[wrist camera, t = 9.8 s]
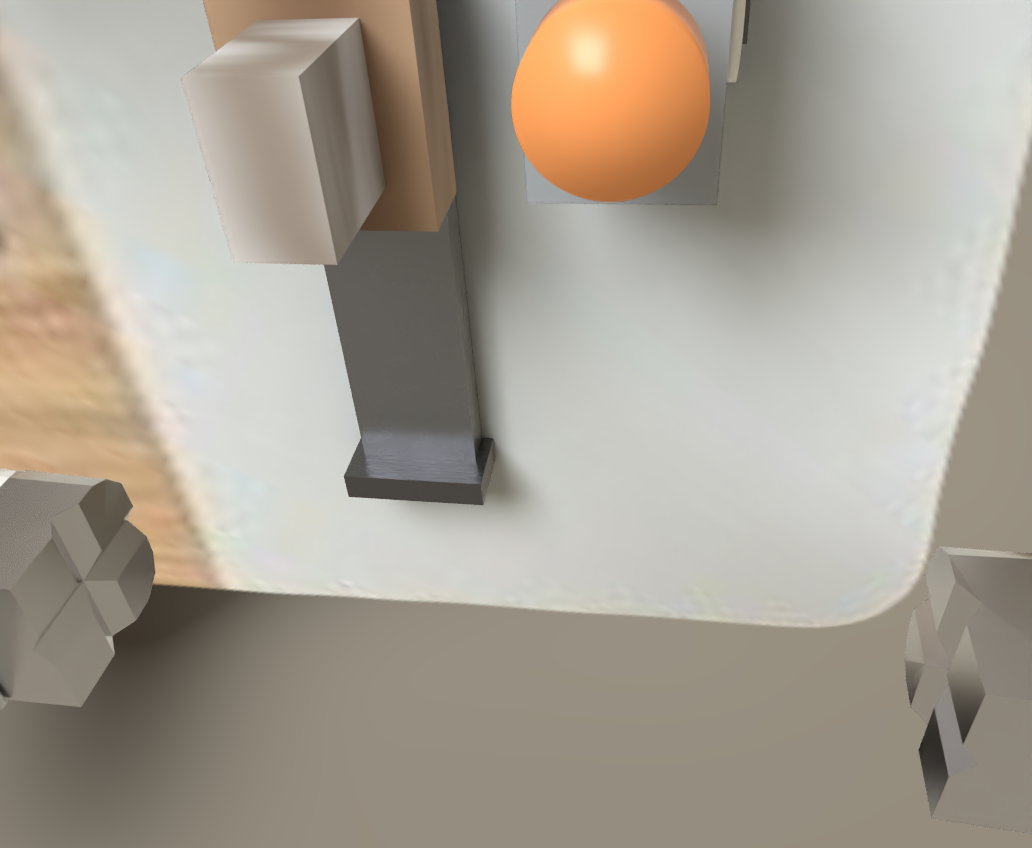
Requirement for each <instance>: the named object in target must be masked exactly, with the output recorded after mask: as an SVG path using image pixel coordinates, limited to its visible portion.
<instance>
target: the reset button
mask: <svg viewBox="0 0 1032 848" xmlns="http://www.w3.org/2000/svg"><path fill="white" fill-rule="evenodd" d="M511 111H512V119H513V125H514V129H515V132H516V136H517V138H518V141H519V143H520V146H521V148H522V150H523V151H524V153H525V155H526V157H527V158H528V160H529V161H530V162H531V164H532V165H533V166H534V168H535V169H536V170H537V171H538V172H539V173H540V174H541V175H542V176H543V177H544V178H546V179H547V180H548V181H549V182H551V183H552V184H553V185H555V186H557V187H558V188H560V189H561V190H563V191H565V192H567V193H570V194H572V195H574V196H577V197H580V198H583V199H588V200H593V201H600V202H621V201H627V200H632V199H636V198H639V197H642V196H645V195H648V194H650V193H652V192H654V191H656V190H658V189H660V188H661V187H663V186H665V185H666V184H668V183H669V182H670V181H672V180H673V179H674V178H675V177H677V176H678V175H679V174H680V173H681V172H682V171H683V170H684V169H685V168H686V166H687V165H688V164H689V162H690V161H691V160H692V158H693V157H694V155H695V154H696V152H697V150H698V148H699V147H700V144H701V142H702V140H703V137H704V135H705V132H706V128H707V124H708V119H709V112H710V81H709V61H708V53H707V48H706V45H705V41H704V38H703V35H702V33H701V31H700V28H699V26H698V25H697V23H696V21H695V20H694V18H693V16H692V15H691V14H690V13H689V11H688V10H687V9H686V8H685V6H683V5H682V4H681V3H680V2H679V1H678V0H559V1H558V2H557V3H556V4H555V5H554V6H553V7H552V8H551V9H550V10H549V11H548V12H547V13H546V15H545V16H544V17H543V19H542V20H541V22H540V23H539V25H538V27H537V29H536V30H535V32H534V34H533V37H532V39H531V41H530V43H529V45H528V47H527V49H526V51H525V54H524V56H523V58H522V60H521V62H520V65H519V67H518V70H517V72H516V76H515V79H514V83H513V89H512V97H511Z"/></svg>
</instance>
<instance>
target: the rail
mask: <svg viewBox="0 0 1032 848" xmlns="http://www.w3.org/2000/svg"><path fill="white" fill-rule="evenodd" d="M324 267H325V271H326V276H327V281H328V285H329V290H330V295H331V299H332V304H333V309H334V313H335V318H336V323H337V327H338V332H339V336H340V341H341V346H342V350H343V355H344V360H345V364H346V369H347V374H348V378H349V383H350V388H351V392H352V397H353V401H354V406H355V411H356V415H357V420H358V425H359V429H360V434H361V439H360V442H359V444H358V446H357V448H356V451H355V453H354V455H353V457H352V459H351V462H350V464H349V466H348V468H347V471H346V473H345V475H344V478H345V483H346V487H347V491H348V495H349V497H361V498H377V499H393V500H409V501H425V502H442V503H458V504H474V505H483V504H484V500H485V496H486V492H487V488H488V485H489V481H490V477H491V473H492V469H493V465H494V462H495V454H494V444H493V439H483V438H482V434H481V425H480V416H479V406H478V397H477V388H476V379H475V370H474V361H473V351H472V342H471V333H470V324H469V315H468V306H467V296H466V287H465V278H464V269H463V260H462V251H461V242H460V232H459V223H458V214H457V205H456V196H455V197H454V199H453V201H452V203H451V205H450V207H449V210H448V212H447V214H446V216H445V218H444V220H443V222H442V224H441V226H440V228H439V231H438V232H430V231H360V230H359V231H358V233H357V234H356V236H355V237H354V239H353V241H352V242H351V244H350V245H349V247H348V249H347V250H346V252H345V253H344V255H343V257H342V258H341V260H340V261H339V263H338V265H324Z"/></svg>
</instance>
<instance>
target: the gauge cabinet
mask: <svg viewBox="0 0 1032 848" xmlns="http://www.w3.org/2000/svg"><path fill="white" fill-rule="evenodd" d="M558 1H559V0H515V4H516V21H517V39H518V56H519V65H520V62H521V60H522V58H523V56H524V54H525V51H526V49H527V47H528V45H529V43H530V41H531V39H532V37H533V34H534V32H535V30H536V29H537V27H538V25H539V23H540V22H541V20H542V19H543V17H544V16H545V15H546V13H547V12H548V11H549V10H550V9H551V8H552V7H553V6H554V5H555V4H556V3H557V2H558ZM678 1H679V2H680V3H681V4H682V5H683V6H685V8H686V9H687V10H688V11H689V13H690V14H691V15H692V16H693V18H694V20H695V21H696V23H697V25H698V26H699V28H700V31H701V33H702V35H703V38H704V41H705V45H706V48H707V53H708V61H709V81H710V112H709V119H708V124H707V128H706V132H705V135H704V137H703V140H702V142H701V144H700V147H699V148H698V150H697V152H696V154H695V155H694V157H693V158H692V160H691V161H690V162H689V164H688V165H687V166H686V168H685V169H684V170H683V171H682V172H681V173H680V174H679V175H678V176H677V177H675V178H674V179H673V180H672V181H670V182H669V183H668V184H666V185H665V186H663V187H661V188H660V189H658V190H656V191H654V192H652V193H650V194H648V195H645V196H642V197H639V198H636V199H632V200H627V201H621V202H600V201H593V200H588V199H583V198H580V197H577V196H574V195H572V194H570V193H567V192H565V191H563V190H561V189H560V188H558V187H557V186H555V185H553V184H552V183H551V182H549V181H548V180H547V179H546V178H544V177H543V176H542V175H541V174H540V173H539V172H538V171H537V170H536V169H535V168H534V166H533V165H532V164H531V162H530V161H529V160H528V158H527V157H526V155H525V153H524V160H525V178H526V195H527V203H565V204H676V205H717V195H718V183H719V170H720V158H721V146H722V133H723V121H724V109H725V96H726V84H727V82H736V81H737V77H738V71H739V65H740V57H741V49H742V44H746V43H747V32H748V22H749V11H750V0H678Z"/></svg>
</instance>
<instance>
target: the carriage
mask: <svg viewBox="0 0 1032 848" xmlns="http://www.w3.org/2000/svg"><path fill="white" fill-rule="evenodd" d="M203 3H204V7H205V11H206V15H207V19H208V22H209V26H210V30H211V34H212V38H213V42H214V46H215V50H216V52H215V53H213V54H212V55H211V56H209V57H208V58H207V59H205V60H204V61H203V62H201V63H200V64H199V65H197V66H196V67H195V68H193V69H192V70H191V71H189V72H188V73H187V74H185V75H184V76H183V77H181V80H182V84H183V87H184V91H185V94H186V98H187V101H188V105H189V108H190V112H191V115H192V119H193V123H194V126H195V130H196V133H197V137H198V140H199V144H200V147H201V151H202V154H203V158H204V161H205V165H206V168H207V172H208V175H209V179H210V182H211V186H212V189H213V193H214V196H215V200H216V203H217V207H218V210H219V214H220V217H221V221H222V225H223V228H224V232H225V235H226V239H227V242H228V246H229V249H230V253H231V256H232V260H233V263H274V264H323V265H338V263H339V261H340V260H341V258H342V257H343V255H344V253H345V252H346V250H347V249H348V247H349V245H350V244H351V242H352V241H353V239H354V237H355V236H356V234H357V233H358V231H359V230H360V231H430V232H438V231H439V228H440V226H441V224H442V222H443V220H444V218H445V216H446V214H447V212H448V210H449V207H450V205H451V203H452V201H453V199H454V197H455V195H456V193H457V188H456V179H455V170H454V160H453V151H452V142H451V133H450V123H449V114H448V105H447V96H446V86H445V77H444V68H443V58H442V49H441V40H440V31H439V21H438V12H437V3H436V0H203Z"/></svg>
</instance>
